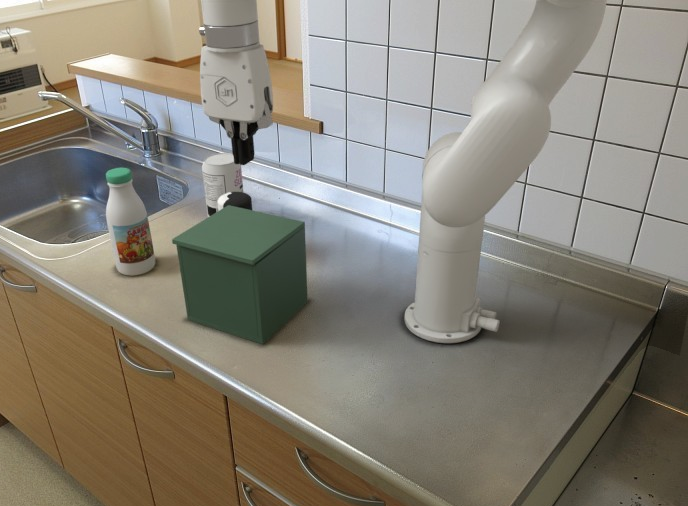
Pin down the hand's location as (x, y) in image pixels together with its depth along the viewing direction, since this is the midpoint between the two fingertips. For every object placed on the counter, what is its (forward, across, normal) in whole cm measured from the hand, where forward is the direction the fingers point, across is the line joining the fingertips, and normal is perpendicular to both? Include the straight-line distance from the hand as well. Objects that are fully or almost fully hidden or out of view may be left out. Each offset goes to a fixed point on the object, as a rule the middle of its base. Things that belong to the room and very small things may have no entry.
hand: (244, 161), depth 103 cm
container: (+27, -14, +15) cm, 34 cm away
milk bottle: (+27, -30, +3) cm, 41 cm away
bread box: (+27, -2, -1) cm, 27 cm away
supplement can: (+27, -25, +26) cm, 46 cm away
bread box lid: (+12, -1, -1) cm, 12 cm away
